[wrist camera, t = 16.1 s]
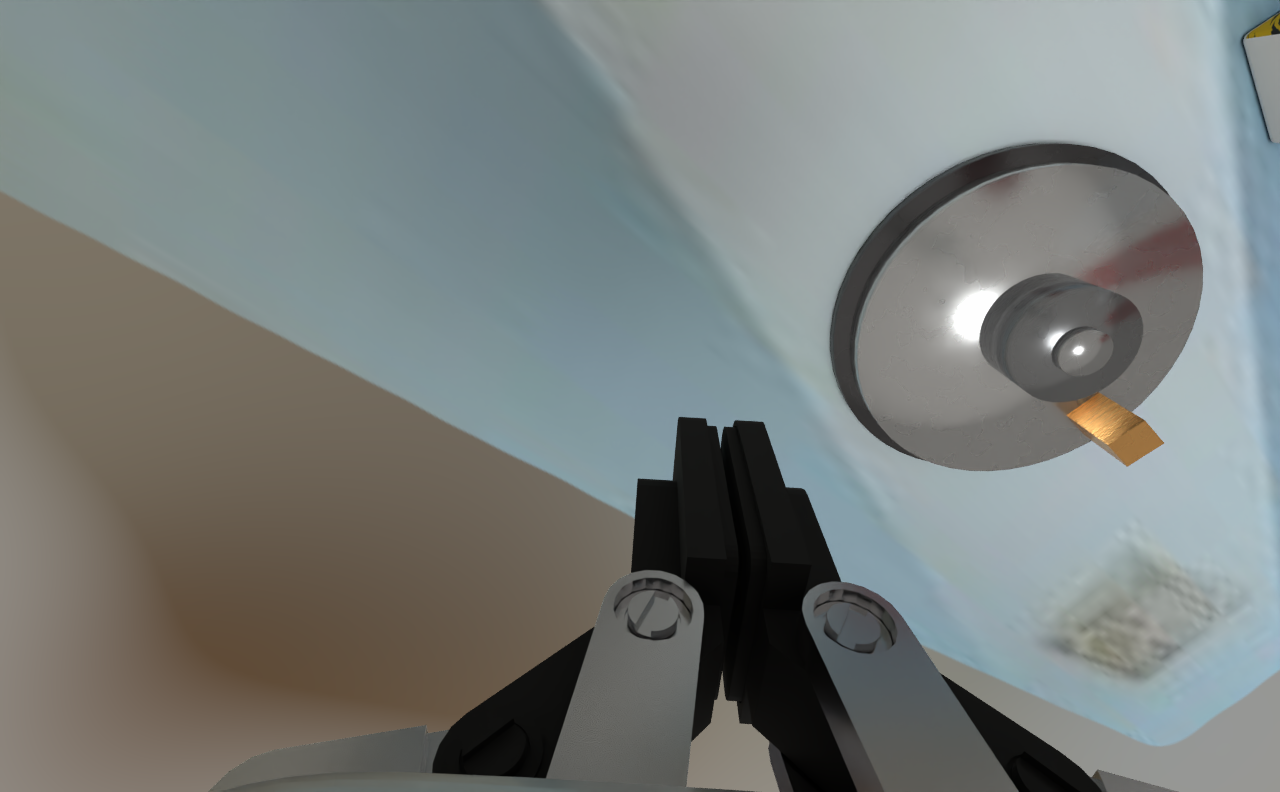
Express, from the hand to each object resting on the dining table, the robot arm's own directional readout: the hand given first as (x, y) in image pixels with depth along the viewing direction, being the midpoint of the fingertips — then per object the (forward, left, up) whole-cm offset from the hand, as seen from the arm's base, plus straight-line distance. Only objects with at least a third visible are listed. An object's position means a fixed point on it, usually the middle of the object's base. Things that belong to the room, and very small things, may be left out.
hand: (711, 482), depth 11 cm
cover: (+4, +24, -26) cm, 35 cm away
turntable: (+5, +23, -28) cm, 36 cm away
